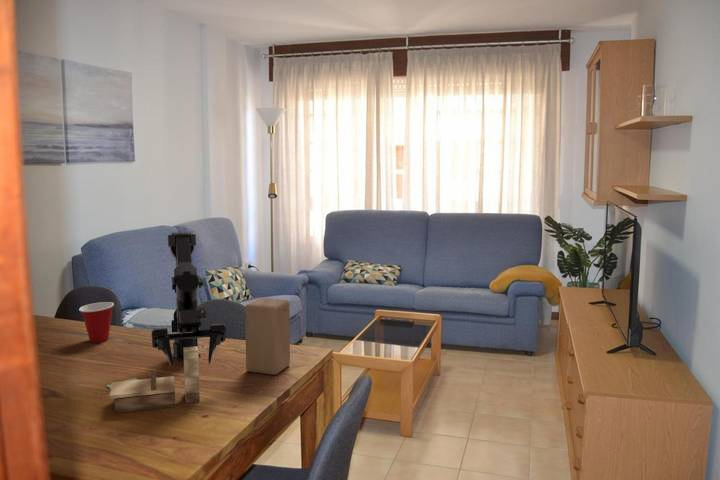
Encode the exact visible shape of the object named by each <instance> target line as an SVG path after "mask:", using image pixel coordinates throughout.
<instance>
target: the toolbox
mask: <svg viewBox="0 0 720 480" xmlns="http://www.w3.org/2000/svg"><path fill="white" fill-rule="evenodd" d="M113 401H114V414H123V413H131V412H140V411H148V410H157V409H165V408H174V407H175V408H176V391H175V392H170V393H160V394H151V395H142V396H133V397H123V398H114V399H113ZM198 402H200V400H199V393H192V394H186V401H185V404H190V403H198Z"/></svg>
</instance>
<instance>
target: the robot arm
mask: <svg viewBox="0 0 720 480" xmlns="http://www.w3.org/2000/svg"><path fill="white" fill-rule="evenodd" d="M196 246H197V235H196V233H195V234H193V233H192V231H186V232H185V231H184V232H183V231H182V232H180V231H179V232H177V231H176V232H171V234H168V235H167V248H170V255H171V256H172V258H173V259H174V260H175V268H173V276H172V277H171V290H172V291H174V293H175V296H176V297H175V302H176V303H175V305H176V306H175V307H176V309H175V310H174V313H173V315H172V316H173V319H172V320H170V324H171V325H170V327H171V328H170V329H171V330H170V331H171V332H168V327H159V328H153V329H152V330H151V344H152V345H151V346H152V348H154V349H156V348H157V351H162V352H163V354H164V355H165V356H166V359H167V361H168V362H169V365H170V368H174V358H176V359H178V360H179V361H183V362H184V351H183V347H195V346H198V347H199V345H198V339H199V338H209V344H208V345H209V346H208V357H207V358H208V359H207V361H208V362H207V363H208V364H209V365H210V364H211V362H212V359H213V355H214V352H215V350H216V348H217V346H219V345H221V343H224V342H225V341H226V336H227V328H226V324H224V323H211V324H210V325H209V329H203V322H202V321H203V320H206V319H207V307H206V306H199V299H198V298H199V291H200V289H202V287H203V286H204V281H203V279H202V278H201V276H200V275H198V269H197V267H195V266H194V265H193V262H192V256H193V254H194V249H195V247H196ZM170 341H173V343H172V347H171V342H170ZM172 349H173V350H172ZM198 356H199V357H201V353H199V352H198ZM173 357H174V358H173Z"/></svg>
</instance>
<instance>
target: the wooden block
mask: <svg viewBox="0 0 720 480" xmlns="http://www.w3.org/2000/svg"><path fill="white" fill-rule="evenodd" d="M290 306H291V305H290V301H289V300H288V299H279V298H278V299H277V298H268V297H260V298H258V299H256V300H253V301H251V302H249V303H247V304H245V306H244V320H245V321H244V325H245V326H244V329H245V330H244V331H245V333H244V334H245V370H246V371H248V372H251V373H258V374H264V375H265V374H266V375H272V376H275V375H276V376H277V374H279V373H281V372H282V371H283V370H284V369H286V368H287V367H289V366H290V363H291V338H290V337H291V328H290V327H291V325H290V323H291V322H290V321H291V318H290V317H291V315H290V308H291V307H290Z"/></svg>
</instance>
